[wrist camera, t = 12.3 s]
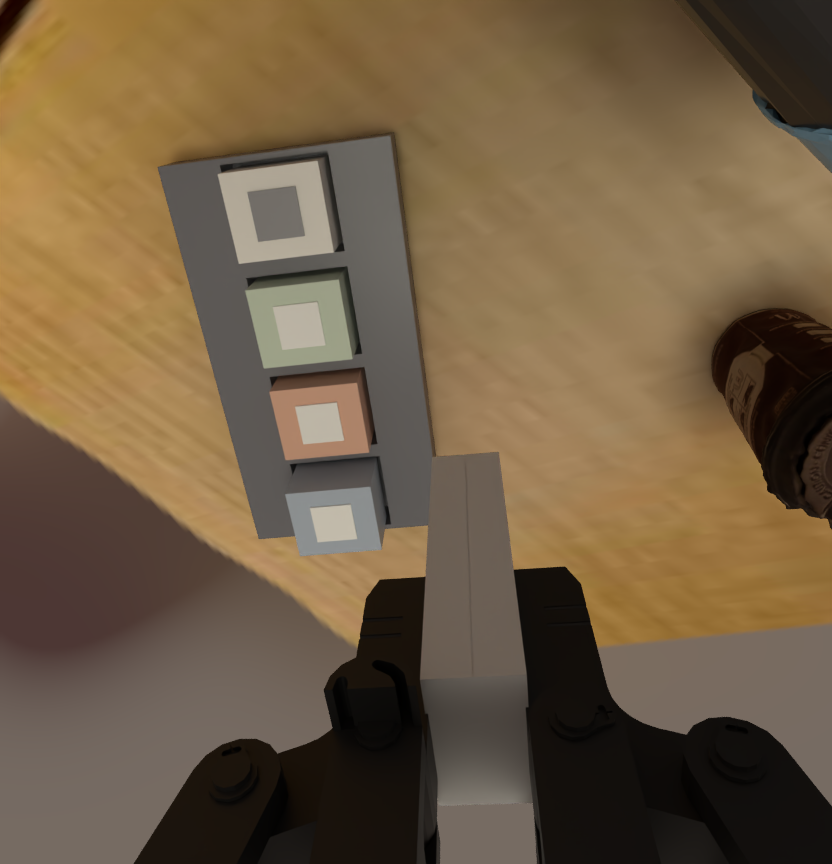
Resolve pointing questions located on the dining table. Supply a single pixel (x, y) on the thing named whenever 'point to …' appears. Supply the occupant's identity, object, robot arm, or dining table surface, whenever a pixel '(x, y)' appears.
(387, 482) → the keypad
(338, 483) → the key
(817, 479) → the coffee cup
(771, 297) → the dining table surface
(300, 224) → the key
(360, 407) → the key
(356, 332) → the key
